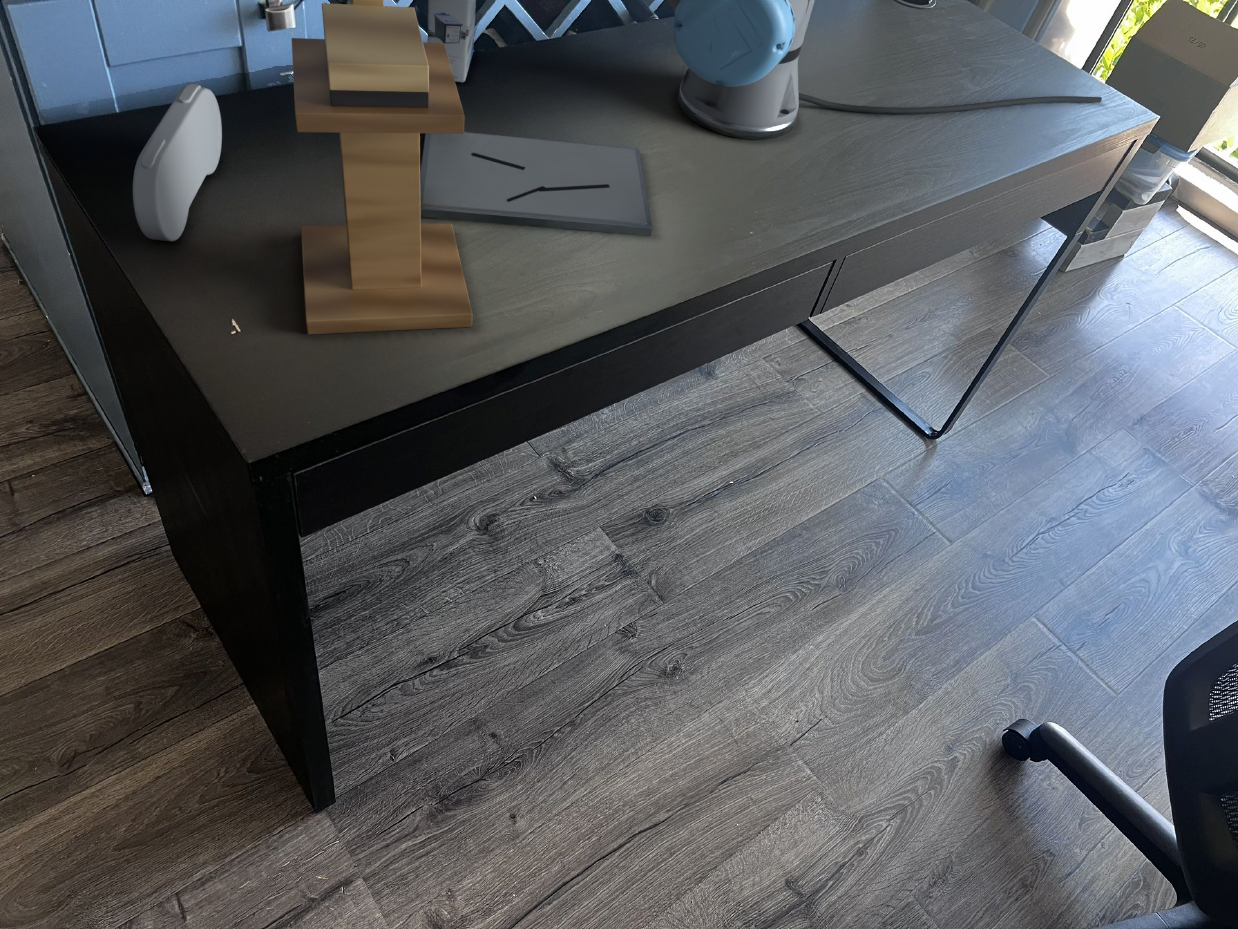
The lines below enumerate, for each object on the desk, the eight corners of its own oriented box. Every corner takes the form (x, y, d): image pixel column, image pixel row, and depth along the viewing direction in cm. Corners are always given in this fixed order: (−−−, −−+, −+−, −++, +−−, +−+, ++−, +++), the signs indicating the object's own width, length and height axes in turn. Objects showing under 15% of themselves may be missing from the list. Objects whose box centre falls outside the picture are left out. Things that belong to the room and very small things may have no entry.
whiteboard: (637, 156, 108) (639, 146, 108) (651, 236, 98) (653, 225, 97) (426, 136, 105) (426, 125, 104) (415, 216, 94) (415, 205, 93)
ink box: (436, 47, 120) (437, -52, 111) (476, 53, 120) (479, -45, 112) (426, 77, 114) (425, -25, 105) (467, 83, 114) (470, -17, 106)
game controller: (204, 146, 97) (188, 67, 91) (227, 149, 97) (213, 70, 91) (143, 256, 84) (120, 173, 78) (169, 259, 84) (149, 176, 78)
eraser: (429, 108, 70) (428, 57, 67) (331, 106, 68) (326, 54, 65) (400, -14, 84) (399, -60, 81) (318, -18, 82) (314, -65, 79)
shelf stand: (472, 327, 84) (479, 122, 70) (307, 334, 80) (280, 119, 66) (451, 236, 93) (454, 37, 78) (302, 239, 89) (277, 31, 75)
